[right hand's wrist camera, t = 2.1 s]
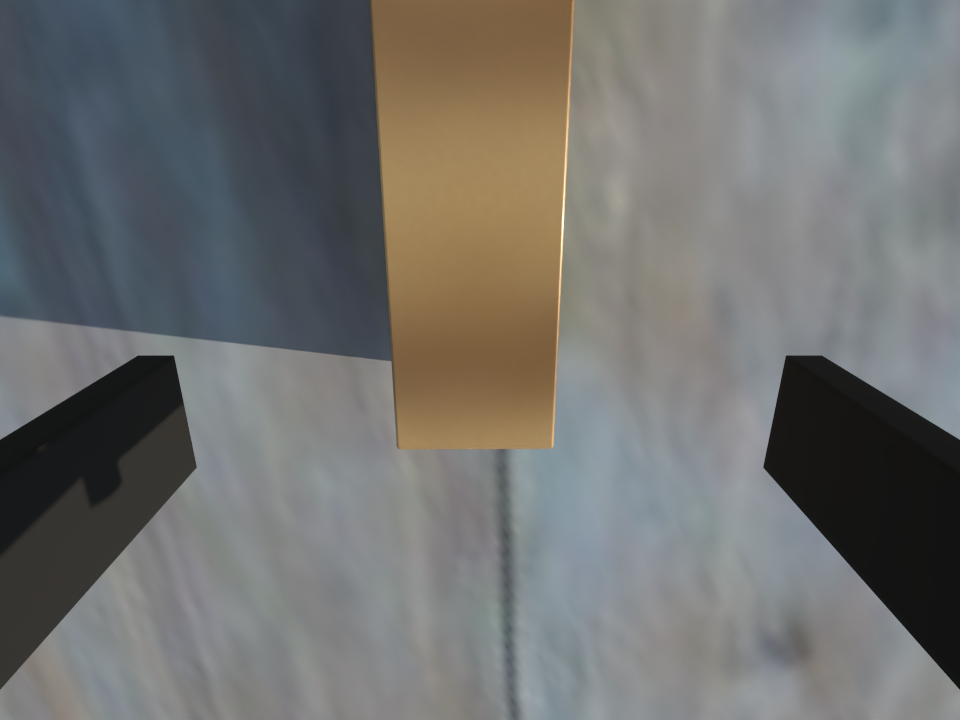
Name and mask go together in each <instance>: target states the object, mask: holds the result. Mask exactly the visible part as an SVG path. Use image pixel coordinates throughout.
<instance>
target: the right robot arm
mask: <svg viewBox="0 0 960 720" xmlns="http://www.w3.org/2000/svg"><path fill="white" fill-rule="evenodd" d="M196 468H197V467H196V462H195V457H194V452H193V447H192V442H191V437H190V432H189V427H188V422H187V418H186V413H185V408H184V403H183V398H182V393H181V388H180V383H179V378H178V373H177V368H176V364H175V359H174V356H137V357H135V358H134V359H132V360H130V361H129V362H127V363H125V364H124V365H122V366H120V367H119V368H117V369H116V370H114V371H112V372H111V373H109V374H107V375H106V376H104V377H102V378H101V379H99V380H97V381H96V382H94V383H93V384H91V385H89V386H88V387H86V388H84V389H83V390H81V391H79V392H78V393H76V394H75V395H73V396H71V397H70V398H68V399H66V400H65V401H63V402H61V403H60V404H58V405H57V406H55V407H53V408H52V409H50V410H48V411H47V412H45V413H43V414H42V415H40V416H39V417H37V418H35V419H34V420H32V421H30V422H29V423H27V424H25V425H24V426H22V427H21V428H19V429H17V430H16V431H14V432H12V433H11V434H9V435H7V436H6V437H4V438H2V439H1V440H0V689H1V688H2V687H3V686H4V685H5V684H6V682H7V681H8V680H9V679H10V678H11V677H12V676H13V674H14V673H15V672H16V671H17V670H18V669H19V668H20V667H21V665H22V664H23V663H24V662H25V661H26V660H27V659H28V658H29V656H30V655H31V654H32V653H33V652H34V651H35V650H36V648H37V647H38V646H39V645H40V644H41V643H42V642H43V641H44V639H45V638H46V637H47V636H48V635H49V634H50V633H51V631H52V630H53V629H54V628H55V627H56V626H57V625H58V624H59V622H60V621H61V620H62V619H63V618H64V617H65V616H66V615H67V613H68V612H69V611H70V610H71V609H72V608H73V607H74V605H75V604H76V603H77V602H78V601H79V600H80V599H81V598H82V596H83V595H84V594H85V593H86V592H87V591H88V590H89V589H90V587H91V586H92V585H93V584H94V583H95V582H96V581H97V579H98V578H99V577H100V576H101V575H102V574H103V573H104V572H105V570H106V569H107V568H108V567H109V566H110V565H111V564H112V563H113V561H114V560H115V559H116V558H117V557H118V556H119V555H120V553H121V552H122V551H123V550H124V549H125V548H126V547H127V546H128V544H129V543H130V542H131V541H132V540H133V539H134V538H135V537H136V535H137V534H138V533H139V532H140V531H141V530H142V529H143V527H144V526H145V525H146V524H147V523H148V522H149V521H150V520H151V518H152V517H153V516H154V515H155V514H156V513H157V512H158V511H159V509H160V508H161V507H162V506H163V505H164V504H165V503H166V501H167V500H168V499H169V498H170V497H171V496H172V495H173V494H174V492H175V491H176V490H177V489H178V488H179V487H180V486H181V484H182V483H183V482H184V481H185V480H186V479H187V478H188V477H189V475H190V474H191V473H192V472H193V471H194V470H195V469H196ZM763 468H764V469H765V470H766V471H767V472H768V473H769V474H770V475H771V477H772V478H773V479H774V480H775V481H776V482H777V483H778V485H779V486H780V487H781V488H782V489H783V490H784V491H785V492H786V494H787V495H788V496H789V497H790V498H791V499H792V500H793V501H794V503H795V504H796V505H797V506H798V507H799V508H800V509H801V511H802V512H803V513H804V514H805V515H806V516H807V517H808V518H809V520H810V521H811V522H812V523H813V524H814V525H815V526H816V527H817V529H818V530H819V531H820V532H821V533H822V534H823V535H824V537H825V538H826V539H827V540H828V541H829V542H830V543H831V544H832V546H833V547H834V548H835V549H836V550H837V551H838V552H839V553H840V555H841V556H842V557H843V558H844V559H845V560H846V561H847V563H848V564H849V565H850V566H851V567H852V568H853V569H854V570H855V572H856V573H857V574H858V575H859V576H860V577H861V578H862V579H863V581H864V582H865V583H866V584H867V585H868V586H869V587H870V589H871V590H872V591H873V592H874V593H875V594H876V595H877V596H878V598H879V599H880V600H881V601H882V602H883V603H884V604H885V605H886V607H887V608H888V609H889V610H890V611H891V612H892V613H893V615H894V616H895V617H896V618H897V619H898V620H899V621H900V622H901V624H902V625H903V626H904V627H905V628H906V629H907V630H908V631H909V633H910V634H911V635H912V636H913V637H914V638H915V639H916V641H917V642H918V643H919V644H920V645H921V646H922V647H923V648H924V650H925V651H926V652H927V653H928V654H929V655H930V656H931V658H932V659H933V660H934V661H935V662H936V663H937V664H938V665H939V667H940V668H941V669H942V670H943V671H944V672H945V673H946V674H947V676H948V677H949V678H950V679H951V680H952V681H953V682H954V684H955V685H956V686H957V687H958V688H959V689H960V440H959V439H957V438H956V437H954V436H953V435H951V434H949V433H948V432H946V431H944V430H943V429H941V428H939V427H938V426H936V425H935V424H933V423H931V422H930V421H928V420H926V419H925V418H923V417H921V416H920V415H918V414H917V413H915V412H913V411H912V410H910V409H908V408H907V407H905V406H903V405H902V404H900V403H899V402H897V401H895V400H894V399H892V398H890V397H889V396H887V395H885V394H884V393H882V392H881V391H879V390H877V389H876V388H874V387H872V386H871V385H869V384H867V383H866V382H864V381H862V380H861V379H859V378H858V377H856V376H854V375H853V374H851V373H849V372H848V371H846V370H844V369H843V368H841V367H840V366H838V365H836V364H835V363H833V362H831V361H830V360H828V359H826V358H825V357H823V356H786V359H785V364H784V368H783V373H782V378H781V383H780V388H779V393H778V398H777V403H776V408H775V413H774V418H773V422H772V427H771V432H770V437H769V442H768V447H767V452H766V457H765V462H764V467H763Z"/></svg>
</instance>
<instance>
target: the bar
mask: <svg viewBox="0 0 960 720" xmlns="http://www.w3.org/2000/svg"><path fill="white" fill-rule="evenodd" d="M574 1H575V0H369V7H370V23H371V39H372V55H373V71H374V87H375V103H376V119H377V135H378V151H379V167H380V183H381V199H382V215H383V231H384V247H385V263H386V279H387V295H388V311H389V327H390V343H391V359H392V375H393V391H394V408H395V424H396V440H397V448H398V449H551V448H553V444H554V423H555V402H556V381H557V360H558V339H559V318H560V297H561V276H562V254H563V233H564V212H565V191H566V170H567V149H568V128H569V107H570V86H571V65H572V44H573V22H574Z"/></svg>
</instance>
